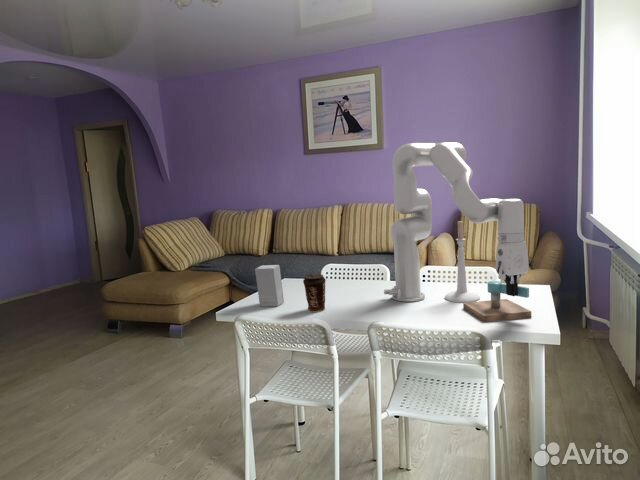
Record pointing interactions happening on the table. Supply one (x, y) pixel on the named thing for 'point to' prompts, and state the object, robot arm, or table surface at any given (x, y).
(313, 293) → the coffee cup
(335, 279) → the table surface
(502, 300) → the post block
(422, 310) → the table surface
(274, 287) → the skincare box
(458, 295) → the candlestick
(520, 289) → the teal lever handle
